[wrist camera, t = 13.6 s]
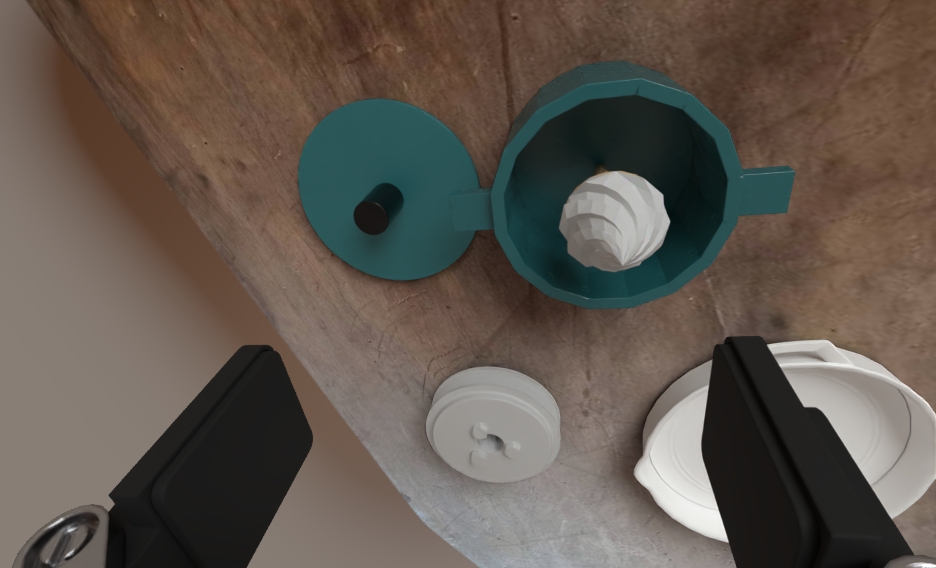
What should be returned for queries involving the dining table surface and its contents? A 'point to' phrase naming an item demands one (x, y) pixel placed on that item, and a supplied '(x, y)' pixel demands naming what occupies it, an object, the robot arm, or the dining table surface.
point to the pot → (619, 149)
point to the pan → (817, 385)
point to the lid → (494, 424)
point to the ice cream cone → (614, 220)
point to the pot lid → (386, 188)
